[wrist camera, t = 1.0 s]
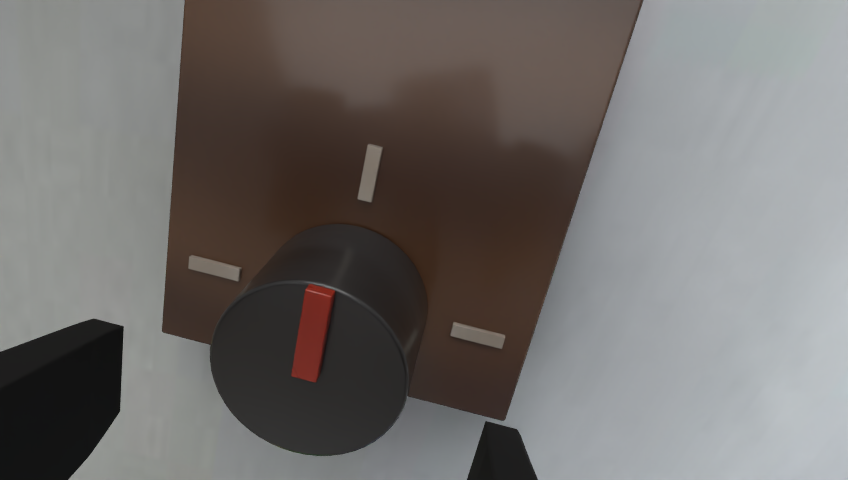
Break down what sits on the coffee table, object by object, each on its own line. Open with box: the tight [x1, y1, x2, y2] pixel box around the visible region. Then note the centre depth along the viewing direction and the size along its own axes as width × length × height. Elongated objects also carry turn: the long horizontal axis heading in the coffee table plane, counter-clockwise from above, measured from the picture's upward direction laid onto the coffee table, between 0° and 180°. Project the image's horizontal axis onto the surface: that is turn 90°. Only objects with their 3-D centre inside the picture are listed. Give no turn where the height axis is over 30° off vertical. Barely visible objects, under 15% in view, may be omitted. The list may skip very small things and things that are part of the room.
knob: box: [210, 224, 428, 456], centre depth 15 cm, size 4×4×4 cm
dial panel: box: [162, 0, 643, 421], centre depth 17 cm, size 14×10×3 cm
